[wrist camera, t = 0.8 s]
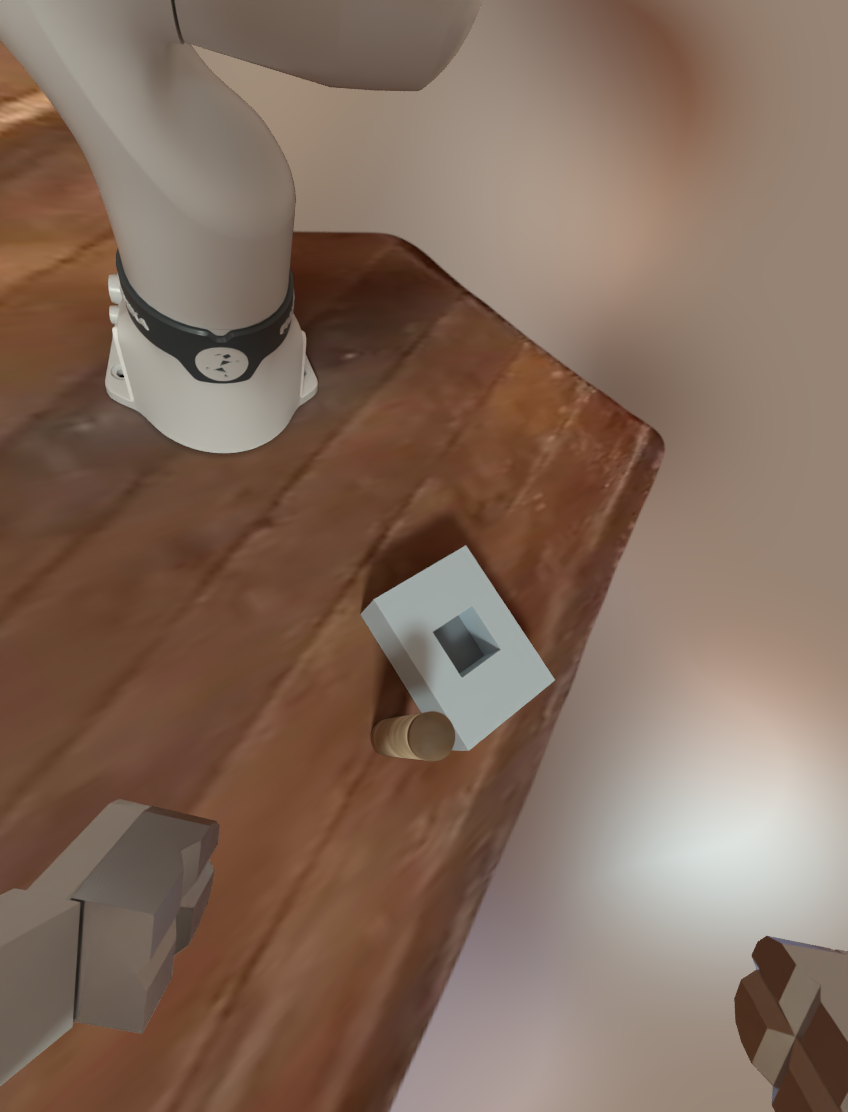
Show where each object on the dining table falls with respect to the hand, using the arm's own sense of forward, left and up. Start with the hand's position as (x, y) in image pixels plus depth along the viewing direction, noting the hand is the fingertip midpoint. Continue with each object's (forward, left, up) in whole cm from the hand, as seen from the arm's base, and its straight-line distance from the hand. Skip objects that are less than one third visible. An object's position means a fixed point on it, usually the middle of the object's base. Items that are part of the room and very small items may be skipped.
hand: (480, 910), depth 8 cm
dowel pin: (-1, +8, -37) cm, 38 cm away
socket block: (-7, +15, -37) cm, 40 cm away
